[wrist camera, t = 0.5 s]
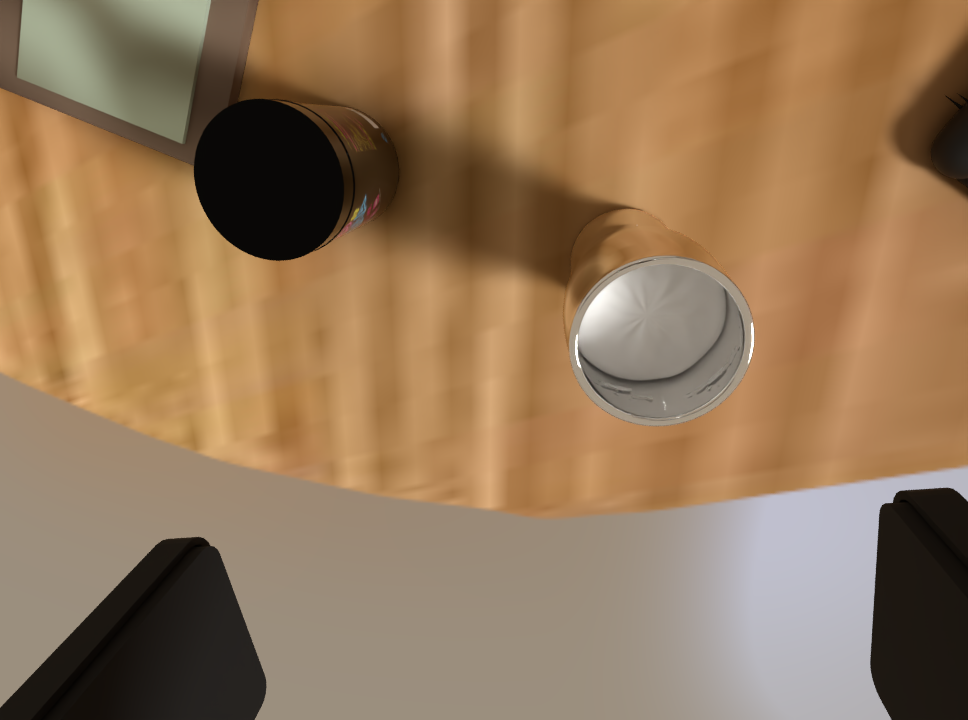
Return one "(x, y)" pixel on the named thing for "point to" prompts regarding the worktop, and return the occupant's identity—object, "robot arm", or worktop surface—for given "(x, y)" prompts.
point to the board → (129, 63)
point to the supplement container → (292, 175)
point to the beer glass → (653, 321)
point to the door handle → (953, 146)
